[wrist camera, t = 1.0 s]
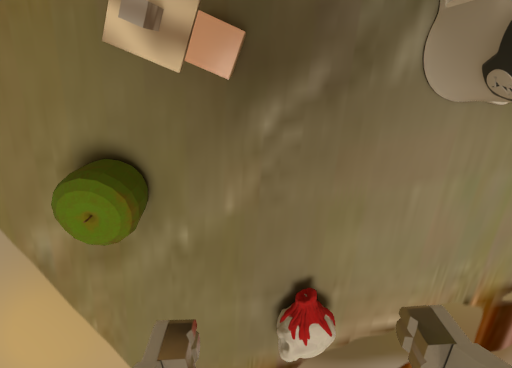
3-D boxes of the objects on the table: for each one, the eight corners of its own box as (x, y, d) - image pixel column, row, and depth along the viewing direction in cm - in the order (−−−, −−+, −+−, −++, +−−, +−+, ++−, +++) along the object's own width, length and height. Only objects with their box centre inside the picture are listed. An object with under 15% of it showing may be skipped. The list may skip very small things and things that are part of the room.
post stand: (119, -50, 32) (90, -73, 26) (203, -10, 34) (193, -23, 28) (104, 40, 36) (76, 38, 30) (180, 72, 38) (167, 76, 32)
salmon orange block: (207, 17, 35) (198, 9, 29) (245, 35, 36) (245, 31, 30) (195, 59, 37) (184, 60, 31) (231, 75, 38) (228, 79, 32)
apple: (70, 163, 43) (16, 197, 33) (135, 145, 42) (99, 173, 32) (106, 222, 47) (68, 267, 38) (165, 207, 46) (142, 248, 36)
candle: (277, 335, 60) (271, 277, 55) (329, 331, 59) (328, 272, 55) (280, 376, 51) (274, 311, 46) (342, 372, 51) (342, 305, 46)
